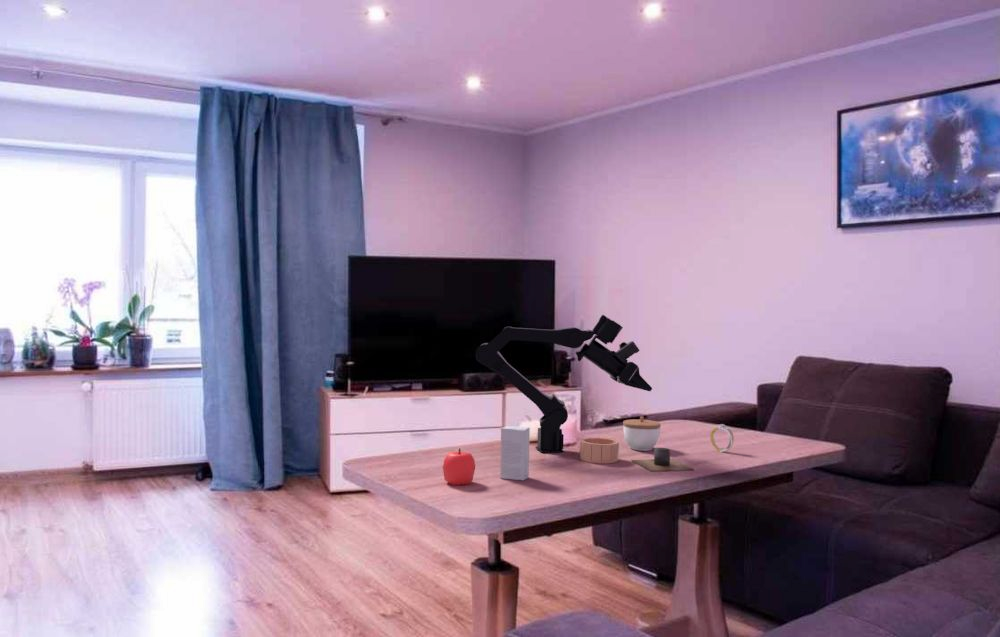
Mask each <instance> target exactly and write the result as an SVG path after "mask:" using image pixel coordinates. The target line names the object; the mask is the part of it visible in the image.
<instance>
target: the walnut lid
mask: <svg viewBox="0 0 1000 637" xmlns="http://www.w3.org/2000/svg"><path fill="white" fill-rule="evenodd" d="M653 453H654V454H653V456H654V458H653V459H652V458H651V459H631V461H632V463H634V464H635V465H637V466H638V467H641V468H643V469H644V470H646V471H649V472H650V473H651V472H653V473H654V472H684V471H686V472H687V471H688V472H689V471H694V470H695V469H694V468H693V467H691V466H689V465H687V464H684V463H682V462H680V461H678V460H675V459H674V458H671V449H670V448H666V447H654V452H653Z"/></svg>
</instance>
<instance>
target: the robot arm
mask: <svg viewBox="0 0 1000 637" xmlns="http://www.w3.org/2000/svg"><path fill="white" fill-rule="evenodd" d="M622 329H623V326H622V325H620V323H618V322H616V321H615V320H613V319H610V318H609V317H607V316H606V315H604V314H601V316H600V317H599V319H598V321H597V323H596V324H595V326H594V327H593V328H592V330H590V329H587V330H581V328H578V327H575V326H574V327H572V326H571V327H563V328H556V329H542V328H541V329H540V328H526V327H525V328H524V327H512V326H505V327H504V328H502V330H501V331H500V332H499V334H497V335H496V336H495V337H494V338H493V339H491V341H489V342H484V343H482V344H481V345H479V346H478V347H477V349H476V350H475V353H474V354H475V360H476V361H477V362H478V363H479V364H481V365H483V366H485V367H486V368H488V369H490V370H492V371H494V372H496V373H498V374H499V375H500V376H502V377H503V378H504V379H505V380H506V381H507V382H508V383H510V384H511V385H512V386H514V388H516V390H518V391H519V392H520V393H522V394H523V395H524V396H525V397H526V398H528V399H529V401H531V402H532V403H533V404H535V406H536V407H537V408H538V409H539V410H540V412H541V413H542V414H543V416H541V418H539V426H540V427H537V446H535V449H536V450H538V451H539V452H540V453H563V452H564V439H565V438H564V434H563V429H562V428H561V427H562V425H564V424H565V423H566V422H567V420H568V417H569V413H568V409H567V407H566V404H565V401H563V400H561V399H559V398H558V397H557V395H556V394H555V393H552V395H551V396H549V395H548V394H545V393H544V392H543V391H542V390H540V389H539V388H538V387H536V385H535V384H533V383H532V382H531V381H530V380H528V378H526V377H525V376H523V374H522V373H520V372H519V371H518V370H517V369H516V368H514V367H513V366H512V365H511V364H510V363H509V362H507V360H506V359H505V357H503V355H502V354H501V352H500V351H501V350H502V349H503V348H504V347H505V346H506V345H507V344H509V343H510V342H511V341H515V342H532V343H534V342H535V343H548V344H554V345H557V346H562V347H566V348H568V349H569V348H571V349H579V348H580V347H581V348H580V350H579V351H575V354H576V360H577V361H578V362H581V361H582V359H583V358H585V359H586V360H588V361H589V362H591V363H592V364H593V365H595V366H596V367H598V368H599V369H600V370H602V371H604V373H606V374H608V375H609V377H610V379H612V380H613V381H615V382H617V383H619V384H621V385H625V386H628V387H631V388H635V389H639V390H643V391H647V392H651V391H652V390H653V387H652V386H651V385H650V384H649V383H648V382H647V381H646V380H645V378H643V377H642V375H641V374H640V367H639V364H638V365H637V364H636V363H635V362H633V361H629V360H628V359H629V358H630V357H632V356H633V355H634V354H635V355H636V354H637V353H639V352H640V349H639V347H638V346H637V344H636V343H635V342H634V341H629V342H627V343H626V342H625V341H622V342H621V343H620V344H619V349H618V350H617V351H614V350H610V349H608V347H606V346H605V345H608V344H609V343H610V344H613V343H614V341H615V339H616V338H617V337H618V336H619V334H620V333H621V331H622ZM596 339H597V340H599V341H600V342H602V343H603V344H605V345H603V344H601V343H600V342H599V341H597V340H596ZM589 340H590V341H589ZM586 341H589V343H584V342H586ZM582 345H583V346H582Z"/></svg>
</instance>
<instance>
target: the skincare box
mask: <svg viewBox="0 0 1000 637" xmlns="http://www.w3.org/2000/svg"><path fill="white" fill-rule="evenodd" d="M530 432H531V431H530V427H524V426H512V425H506V426H504V427H502V428H500V471H499V472H500V474H499V475H500V476H499V477H500V479H505V480H514V481H525V480H526V479H528V478H529V476H530V474H529V473H530Z"/></svg>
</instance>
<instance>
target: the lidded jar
mask: <svg viewBox="0 0 1000 637" xmlns="http://www.w3.org/2000/svg"><path fill="white" fill-rule="evenodd" d="M644 418H645V417H644V416H640V417H639V419H634V418H633V419H626V420H623V422H622V425H623V431H622V432H623V438H624V441H625V443H626V444H627V445H628V446H629V447H630V448H629V449H631V450H633V451H642V452H643V451H644V452H645V451H646V452H648V451H651V450H652V449H653V448H655V447H656V445H657V443H658V442H659V438H660V433H661V422H659V421H656V420H651V419H644Z"/></svg>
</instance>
